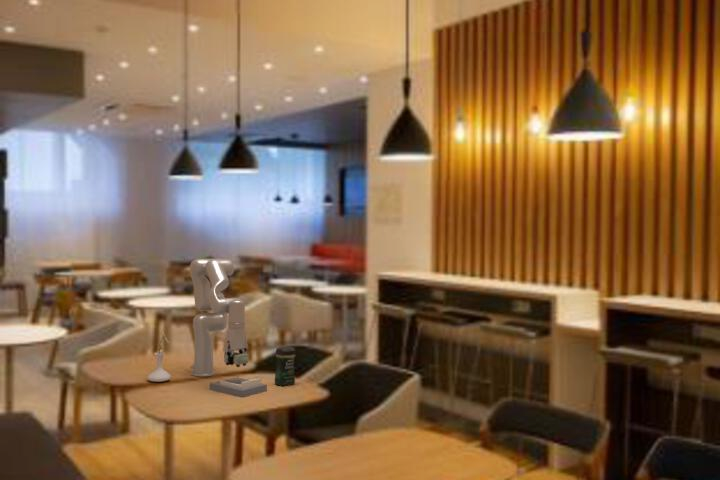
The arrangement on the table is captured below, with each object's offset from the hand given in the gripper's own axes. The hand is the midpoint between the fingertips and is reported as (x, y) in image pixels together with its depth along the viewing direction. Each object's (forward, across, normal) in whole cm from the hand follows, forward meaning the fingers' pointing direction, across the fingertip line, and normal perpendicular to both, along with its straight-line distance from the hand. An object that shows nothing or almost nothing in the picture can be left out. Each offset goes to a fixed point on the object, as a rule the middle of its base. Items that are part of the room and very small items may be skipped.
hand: (235, 363), depth 347 cm
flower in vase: (+12, +12, -41) cm, 45 cm away
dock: (+13, 0, +2) cm, 13 cm away
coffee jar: (+13, -24, +10) cm, 29 cm away
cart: (+1, 0, 0) cm, 1 cm away
